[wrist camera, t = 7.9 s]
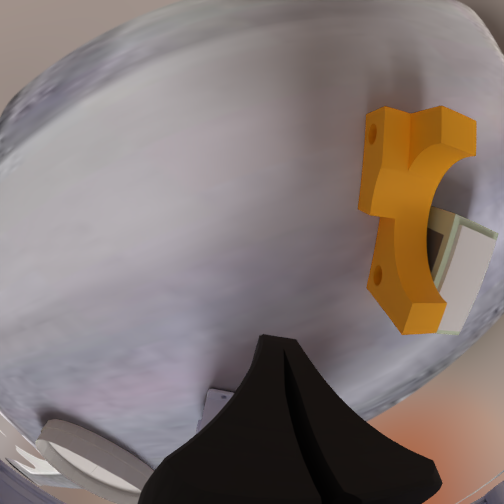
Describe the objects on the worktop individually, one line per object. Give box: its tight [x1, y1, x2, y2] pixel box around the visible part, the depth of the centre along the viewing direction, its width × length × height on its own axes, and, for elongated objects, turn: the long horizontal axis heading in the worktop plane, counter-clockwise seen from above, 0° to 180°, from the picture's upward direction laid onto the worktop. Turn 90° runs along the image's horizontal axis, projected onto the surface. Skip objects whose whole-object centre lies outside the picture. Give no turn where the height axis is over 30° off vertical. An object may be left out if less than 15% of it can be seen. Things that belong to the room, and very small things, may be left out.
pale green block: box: [426, 206, 498, 335], centre depth 16 cm, size 5×8×4 cm, turn 168°
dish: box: [35, 419, 154, 504], centre depth 28 cm, size 22×22×5 cm
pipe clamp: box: [358, 106, 476, 335], centre depth 14 cm, size 12×4×6 cm, turn 176°
